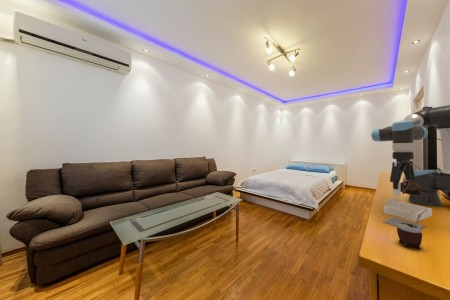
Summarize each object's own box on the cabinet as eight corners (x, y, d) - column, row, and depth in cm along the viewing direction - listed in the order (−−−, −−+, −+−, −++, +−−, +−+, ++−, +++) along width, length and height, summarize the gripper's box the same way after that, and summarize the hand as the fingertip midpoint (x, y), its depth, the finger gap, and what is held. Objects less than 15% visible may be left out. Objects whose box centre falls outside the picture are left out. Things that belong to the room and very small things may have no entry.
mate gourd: (393, 242, 72) (393, 206, 72) (402, 238, 75) (402, 204, 75) (419, 252, 65) (418, 212, 65) (428, 247, 68) (428, 209, 68)
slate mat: (394, 218, 96) (394, 217, 96) (425, 227, 85) (425, 226, 85) (382, 221, 92) (382, 221, 92) (413, 231, 81) (413, 231, 81)
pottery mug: (390, 197, 91) (394, 187, 94) (416, 207, 84) (419, 195, 88) (399, 183, 83) (403, 172, 87) (427, 192, 77) (430, 180, 80)
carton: (399, 208, 111) (399, 197, 111) (432, 216, 98) (432, 203, 98) (383, 212, 104) (383, 200, 104) (416, 221, 91) (415, 207, 91)
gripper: (404, 151, 96) (405, 190, 96) (380, 151, 87) (380, 195, 87) (424, 151, 89) (424, 193, 89) (399, 152, 80) (400, 198, 80)
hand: (402, 194), depth 88 cm, fingers closed on pottery mug, 11 cm apart
